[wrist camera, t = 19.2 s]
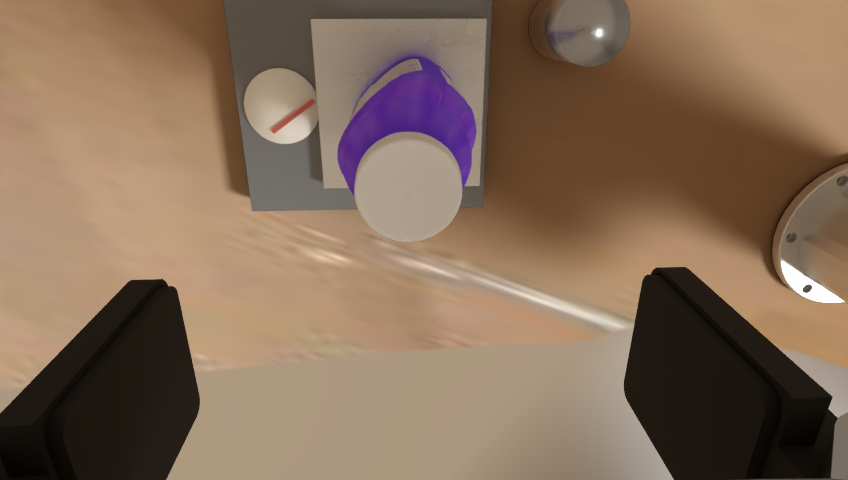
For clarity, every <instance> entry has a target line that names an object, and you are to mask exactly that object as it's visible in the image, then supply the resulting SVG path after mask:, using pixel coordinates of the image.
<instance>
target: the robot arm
mask: <svg viewBox="0 0 848 480" xmlns="http://www.w3.org/2000/svg"><path fill="white" fill-rule="evenodd" d="M772 255H773V263H774V266H775V269H776V272H777V274H778V276H779V277H780V279H781V280H782V282H783V283H784V284H786V285H787V286H788V287H789V288H790V289H791V290H793V291H794V292H796V293H797V294H798V295H800V296H802V297H804V298H807V299H809V300H812V301H817V302H823V303H839V302H846V303H847V304H848V163H846V164H843V165H840V166H838V167H835V168H833V169H831V170H830V171H828V172H826V173H824V174H822V175H820V176H819V177H818V178H816V179H815V180H814V181H812V182H811V183H810V184H808V185H807V186H806V187H805V188H804V189H803V190H802V191H801V192H800V193H799V194H798V195H797V196H796V197H795V198H794V200H793V201H792V202H791V204H790V205H789V206H788V208H787V209H786V210H785V212H784V214H783V216H782V218H781V220H780V221H779V223H778V226H777V229H776V232H775V235H774V239H773V247H772ZM624 391H625V396H626V399H627V401H628V403H629V404H630V406H631V408H632V410H633V411H634V413H635V415H636V416H637V418H638V420H639V421H640V423H641V425H642V426H643V428H644V430H645V431H646V433H647V435H648V437H649V438H650V440H651V442H652V443H653V445H654V447H655V448H656V450H657V452H658V453H659V455H660V457H661V458H662V460H663V462H664V464H665V465H666V467H667V468H668V470H669V472H670V474H671V475H672V477H673V479H674V480H848V413H846V414H844V415H842V416H840V417H838V418H837V417H836V416H835V415H834V414H833V413H832V412H831V411H830V410H828V408H829V405H830V402H831V400H832V396H831V395H830V394H829V393H828V392H826V391H825V390H824V389H823V388H822V387H821V386H819V385H818V384H817V383H816V382H815V381H814V380H813V379H812V378H810V377H809V376H808V375H807V374H806V373H805V372H804V371H803V370H802V369H800V368H799V367H798V366H797V365H796V364H795V363H794V362H793V361H792V360H790V359H789V358H788V357H787V356H786V355H785V354H783V353H782V352H781V351H780V350H779V349H778V348H777V347H776V346H775V345H773V344H772V343H771V342H770V341H769V340H768V339H767V338H766V337H764V336H763V335H762V334H761V333H760V332H759V331H758V330H757V329H755V328H754V327H753V326H752V325H751V324H750V323H749V322H748V321H746V320H745V319H744V318H743V317H742V316H741V315H740V314H739V313H737V312H736V311H735V310H734V309H733V308H732V307H731V306H730V305H728V304H727V303H726V302H725V301H724V300H723V299H722V298H721V297H719V296H718V295H717V294H716V293H715V292H714V291H713V290H712V289H710V288H709V287H708V286H707V285H706V284H705V283H704V282H703V281H701V280H700V279H699V278H698V277H697V276H696V275H695V274H693V273H692V272H691V271H690V270H689V269H687V268H686V267H668V268H655V269H654V270H653V271H652V273H651V275H646V276H645V277H644V279H643V282H642V287H641V292H640V298H639V303H638V309H637V314H636V319H635V325H634V330H633V336H632V342H631V347H630V352H629V358H628V363H627V368H626V374H625V379H624ZM199 405H200V398H199V392H198V387H197V383H196V378H195V373H194V368H193V363H192V359H191V354H190V349H189V344H188V340H187V335H186V330H185V325H184V321H183V316H182V311H181V306H180V302H179V297H178V293H177V290H176V288H175V287H173V286H168V285H167V283H166V281H164V280H163V279H157V280H131V281H129V282H128V283H127V284H126V285H125V286H124V287H123V288H122V289H121V290H120V291H119V292H118V293H117V294H116V295H115V296H114V297H113V298H112V299H111V300H110V301H109V302H108V303H107V305H106V306H105V307H104V308H103V309H102V310H101V311H100V312H99V313H98V314H97V315H96V316H95V317H94V318H93V319H92V320H91V321H90V322H89V323H88V324H87V325H86V326H85V327H84V328H83V329H82V330H81V331H80V332H79V333H78V334H77V335H76V336H75V337H74V338H73V339H72V340H71V341H70V343H69V344H68V345H67V346H66V347H65V348H64V349H63V350H62V351H61V352H60V353H59V354H58V355H57V356H56V357H55V358H54V359H53V360H52V361H51V362H50V363H49V364H48V365H47V366H46V367H45V368H44V369H43V370H42V371H41V372H40V373H39V374H38V375H37V376H36V377H35V378H34V379H33V381H32V382H31V383H30V384H29V385H28V386H27V387H26V388H25V389H24V390H23V391H22V392H21V393H20V394H19V395H18V396H17V397H16V398H15V399H14V400H13V401H12V402H11V403H10V404H9V405H8V406H7V407H6V408H5V409H4V410H3V411H2V412H1V413H0V480H166V479H167V477H168V474H169V472H170V470H171V468H172V466H173V464H174V462H175V460H176V458H177V456H178V454H179V452H180V450H181V448H182V446H183V444H184V442H185V440H186V437H187V435H188V433H189V431H190V429H191V427H192V425H193V423H194V421H195V419H196V417H197V414H198V411H199Z"/></svg>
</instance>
